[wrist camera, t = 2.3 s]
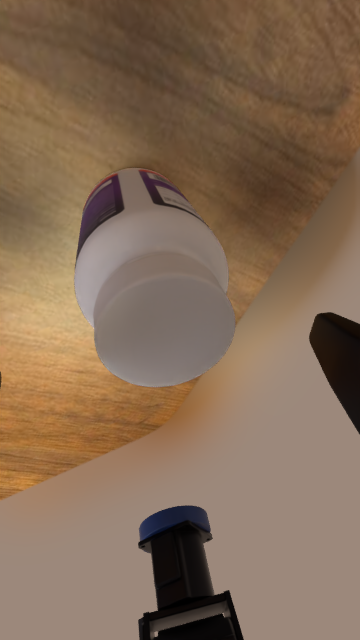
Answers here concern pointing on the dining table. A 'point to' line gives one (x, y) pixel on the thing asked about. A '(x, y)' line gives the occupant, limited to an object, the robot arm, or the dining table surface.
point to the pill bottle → (151, 281)
